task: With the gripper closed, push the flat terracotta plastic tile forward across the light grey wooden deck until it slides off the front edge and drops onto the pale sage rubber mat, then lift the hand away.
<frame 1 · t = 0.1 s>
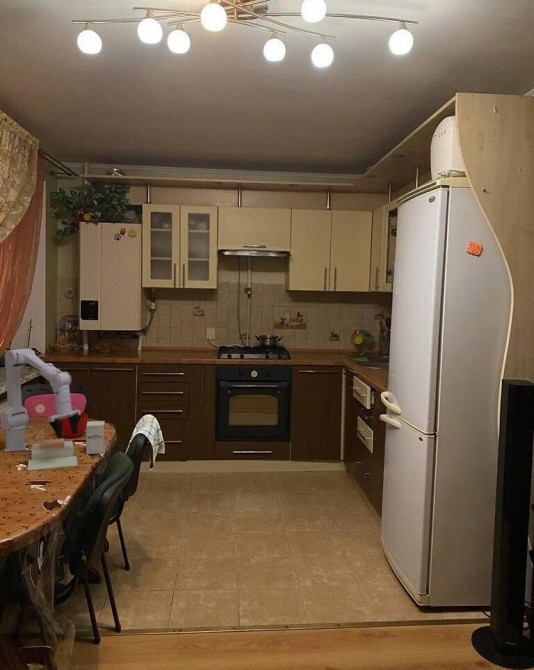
hand: (67, 435, 206), 11 cm above the table, tool pointing down, fingers open, 7 cm apart
ceramic cup: (75, 435, 244), on the table
tile: (52, 446, 216), point 3 cm above the table, touching deck
supplement box: (95, 451, 220), on the table
mat: (52, 463, 203), on the table
deck: (52, 453, 215), on the table
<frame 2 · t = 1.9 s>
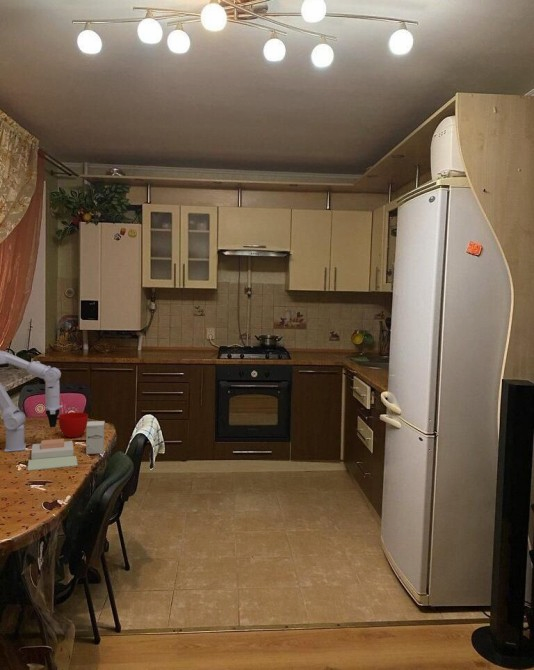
hand: (52, 426, 222), 10 cm above the table, tool pointing down, fingers closed
nothing on the table moved.
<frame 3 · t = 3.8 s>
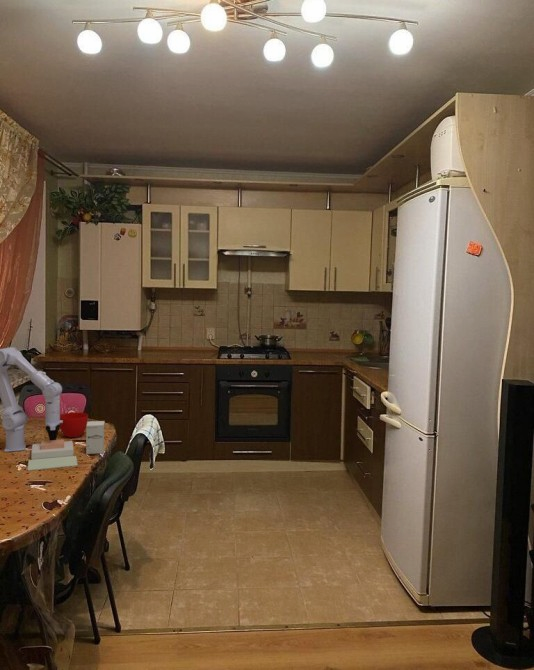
hand: (52, 442, 219), 4 cm above the table, tool pointing down, fingers closed
tile: (52, 446, 215), point 3 cm above the table, touching deck, gripper
everything else where it was.
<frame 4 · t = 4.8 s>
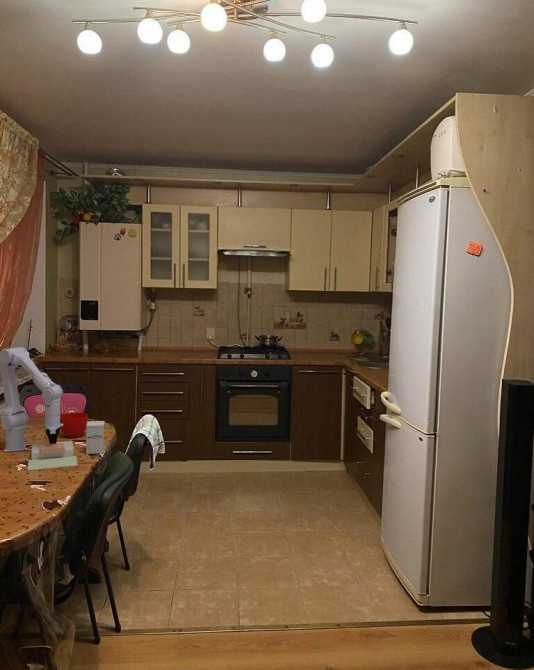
hand: (52, 446, 214), 4 cm above the table, tool pointing down, fingers closed
tile: (52, 450, 210), point 3 cm above the table, touching deck
everything else where it was.
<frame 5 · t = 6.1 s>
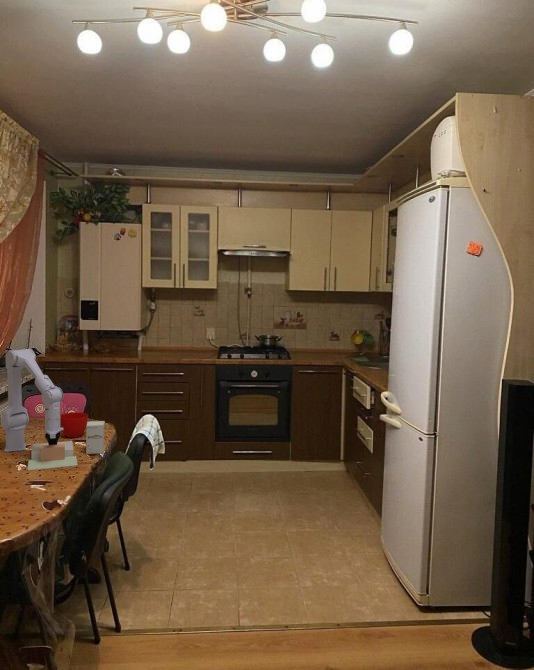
hand: (52, 451, 207), 4 cm above the table, tool pointing down, fingers closed
tile: (52, 451, 207), point 4 cm above the table, tilted 105°, touching gripper, mat
everything else where it was.
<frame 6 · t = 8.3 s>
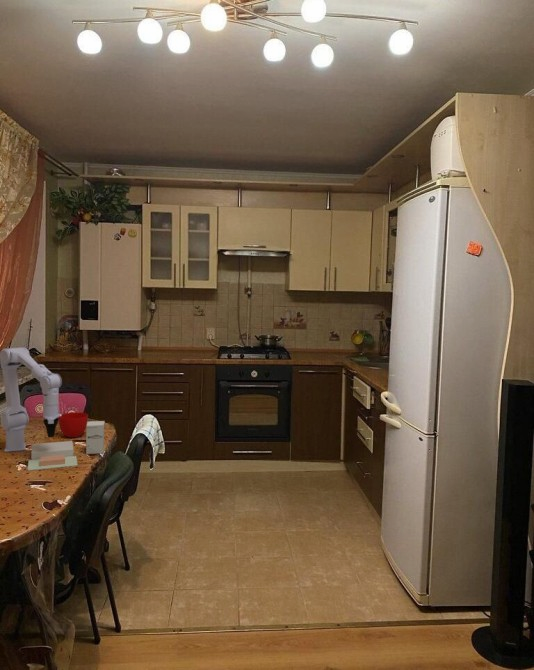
hand: (51, 436, 208), 9 cm above the table, tool pointing down, fingers closed
tile: (52, 457, 203), point 2 cm above the table, tilted 180°, touching mat
everything else where it was.
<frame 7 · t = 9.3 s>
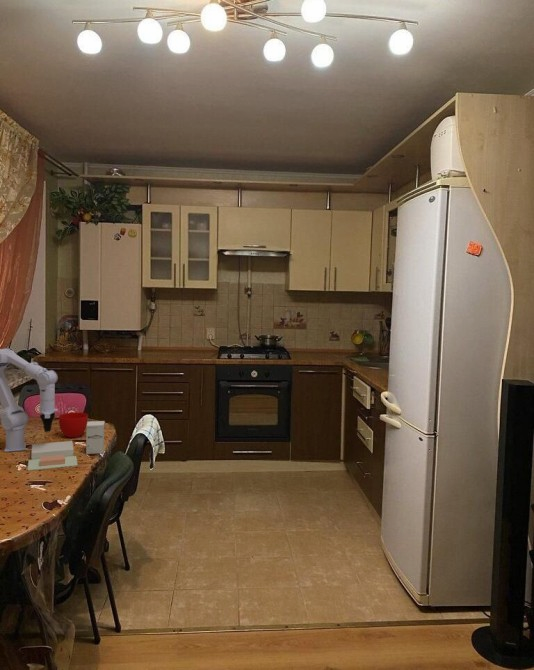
hand: (47, 431, 216), 9 cm above the table, tool pointing down, fingers closed
nothing on the table moved.
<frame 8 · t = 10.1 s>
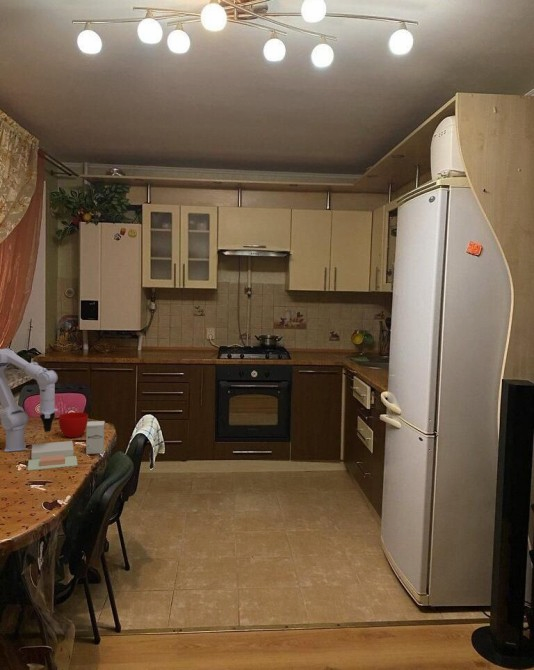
hand: (47, 431, 216), 9 cm above the table, tool pointing down, fingers closed
nothing on the table moved.
at the end: tile point 2.4 cm above the table; tile inside the target area (0.4 cm from its centre), point 2.4 cm above the table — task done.
